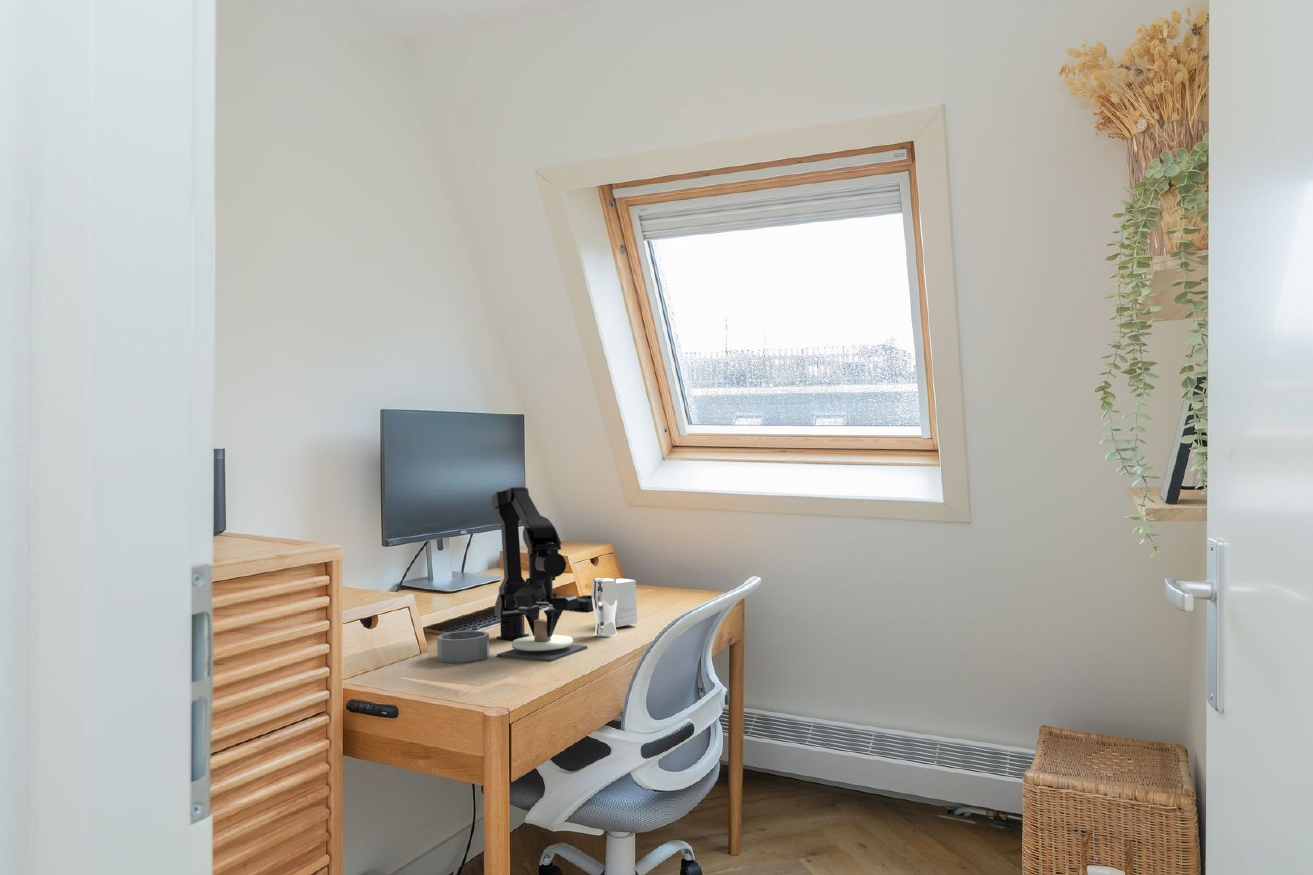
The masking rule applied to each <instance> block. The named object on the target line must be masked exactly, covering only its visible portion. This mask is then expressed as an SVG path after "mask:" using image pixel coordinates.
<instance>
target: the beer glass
mask: <svg viewBox="0 0 1313 875" xmlns="http://www.w3.org/2000/svg"><path fill="white" fill-rule="evenodd" d="M616 579H617V578H614V577H602V578H601V577H600V578H599V577H598V578H593V579H591V596H592V604H593V609H594V611H593V615H594V618H595V629H594V636H595V637H598V638H610V637H615V636H617V635H618V632H617V627H616V626H615V615H616V608H617V584H616Z"/></svg>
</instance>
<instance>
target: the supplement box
mask: <svg viewBox="0 0 1313 875" xmlns="http://www.w3.org/2000/svg"><path fill="white" fill-rule="evenodd" d="M615 579H616V584H617V608H616V615H615V626H616V628H619V627H624V626H630V625H632V626H633V625H637V624H638V615H637V614H638V611H637V610H638V609H637V608H638V607H637V586H636V585H637V582H636V580H635V579H629V578H615Z"/></svg>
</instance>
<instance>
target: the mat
mask: <svg viewBox="0 0 1313 875" xmlns="http://www.w3.org/2000/svg"><path fill="white" fill-rule="evenodd" d="M587 649H588V645H581V644H580V645H579V644H572V645H571V646H568V647H565V648H561V649H555V650H545V651H524V650H517V649H514V648H512V649H509V650H505V651H503V652H499V653H496V658H497V657H499V658H505V659H506V658H507V659H508V658H509V659H521V660H530V661H533V660H534V661H542V662H545V661H546V662H553V661H557V660H558V659H562V658H564V657H567V656H570V655H573V654H576V653H578V652H581V651H583V650H587Z"/></svg>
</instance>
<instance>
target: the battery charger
mask: <svg viewBox="0 0 1313 875" xmlns="http://www.w3.org/2000/svg"><path fill="white" fill-rule="evenodd" d="M576 597H577V598H578V600H579V607H576V608H573V609H569V610H568V611H572V610H574V611H575V612H582V613H591V612H594V609H593V604H592V595H581V596H580V595H579V596H576ZM574 611H573V612H574Z"/></svg>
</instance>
